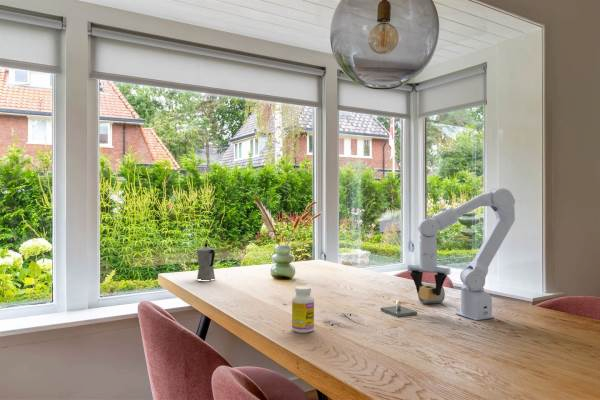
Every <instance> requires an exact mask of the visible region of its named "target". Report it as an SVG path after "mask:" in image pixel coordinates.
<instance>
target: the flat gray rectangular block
mask: <svg viewBox="0 0 600 400" xmlns="http://www.w3.org/2000/svg"><path fill="white" fill-rule="evenodd" d="M401 301H402V300H396V305H392V306H384V307H383V306H382V307H380V312H383V313H385V314H386V313H387V314H389V315H390V316H393V317H396V318H402V317H408V316H417V315H418V311H416V310H413V309H410V308H407V307H405V306H402V304H401V303H402V302H401Z"/></svg>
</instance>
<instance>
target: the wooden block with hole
mask: <svg viewBox="0 0 600 400" xmlns="http://www.w3.org/2000/svg"><path fill="white" fill-rule="evenodd" d="M419 298H421V299H424V300H427V301H430V300H438V299H439V295H438V296H437V295H436V287H434V286H430V285H427V286H419ZM419 298H418V299H419Z"/></svg>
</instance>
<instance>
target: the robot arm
mask: <svg viewBox="0 0 600 400" xmlns="http://www.w3.org/2000/svg"><path fill="white" fill-rule="evenodd" d="M515 203H516V199H515V197H514V195H513V193H512V192H511V191H510V190H509V189H507V188H504V187H503V188H502V187H501V188H493V189H490V190H488V191H486V192H482V193H480V194H478V195H477V196H474V197H473V198H471V199H469V200H467V201H465V202H464V203H462V204H460V205H459V206H456V207H454V208H453V207H447V208H446V207H443V208H441V211H439V212H437V213H435V214H433V215H432V214H431V215H428V218H425V219H422V220H421V221H420V222H419V224H418V228H417V229H418V232H419V265H418V264H417V265H413V264H408V265H407V271H408V272H409V273H410V277H411V279H412V280H413V283H414V285H415V289H416V293H417V294H418V293H419V286H422V283H423V275H424V273H429V274H434V280H435V284H436V295H437V296H438V295H440V293H441V289H442V286H443V285H444V282H445V281H446V278H447V276H449V275H451V268H449V267H448V268H447V267H441V266H438V243H437V242H438V241H437V234H438V232H439V231H440V232H441V231H442V230H445V229H447V228H449V227H451V226H452V225H454V224H456V223H458V221H459V218H460V217H461V216H464V215H465V214H467V213H470V212H472V211H474V210H476V209H478V208H480V207H490V209H492V210H493V213H494V215H495V218H496V220H495V221H494V223H493V225H492V227H491V228H490V230H489V232H488V233H487V236H486V237H485V239H484V241H483V242H482V244H481V246H480V247H479V249H478V252H477V253H476V255H475V257H474V258H473V260H471V261H470V262H469V264H468V265H467V266H466V267H465V268H463V269H462V271H460V274H459V278H460V280H461V283H462V285H461V287H460V290H461V291H460V309H461V310H460V311H456V312H455V315H459V316H462V317H464V318H468V319H471V320H473V321H481V320H487V319H493V318H494V315H493V310H492V309H493V301H492V300H493V299H492V296H491V294H490V293H489V292H486V291H485V288H484V287H485V285H486V278H487V275H488V272H489V267H490V265H491V263H492V261H493V259H494V257H495V256H496V254H497V252H498V251H499V249H500V247H501V245H502V243H503V242H504V240H505V238H506V236H507V235H508V233H509V231H510V230H511V228H512V226H513V225H514V223H515V220H516V214H515V213H516V212H515Z"/></svg>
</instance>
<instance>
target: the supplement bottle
mask: <svg viewBox="0 0 600 400" xmlns="http://www.w3.org/2000/svg"><path fill="white" fill-rule="evenodd" d="M294 292H295V295H294V296H292V299H291V329H292V332H295V333H299V334H300V333H301V334H304V333H305V334H306V333H311V332H313V331H314V329H315V298H314V297H313V296H312V295H311V292H312V287H310V286H306V285H302V286H300V285H299V286H296V287H295V291H294Z"/></svg>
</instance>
